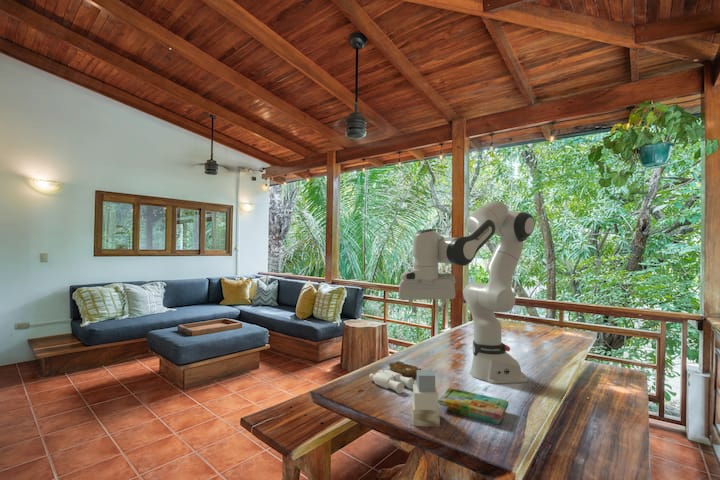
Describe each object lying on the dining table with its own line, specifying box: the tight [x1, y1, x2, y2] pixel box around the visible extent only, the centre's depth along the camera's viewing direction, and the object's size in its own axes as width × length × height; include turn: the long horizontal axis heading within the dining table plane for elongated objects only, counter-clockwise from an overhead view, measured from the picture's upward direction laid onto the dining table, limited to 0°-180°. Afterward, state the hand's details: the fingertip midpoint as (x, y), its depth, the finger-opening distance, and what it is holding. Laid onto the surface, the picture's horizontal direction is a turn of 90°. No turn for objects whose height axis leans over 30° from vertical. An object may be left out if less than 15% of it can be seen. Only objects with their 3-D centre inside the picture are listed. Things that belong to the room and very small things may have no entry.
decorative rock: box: [388, 360, 422, 379], centre depth 150 cm, size 11×4×15 cm
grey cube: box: [416, 369, 436, 392], centre depth 110 cm, size 5×5×5 cm
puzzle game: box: [438, 387, 509, 426], centre depth 116 cm, size 12×5×20 cm
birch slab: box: [410, 397, 441, 428], centre depth 110 cm, size 8×8×5 cm
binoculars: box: [368, 369, 415, 394], centre depth 137 cm, size 10×16×5 cm, turn 44°
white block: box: [412, 383, 439, 411], centre depth 110 cm, size 7×7×5 cm
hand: (427, 311), depth 126 cm, fingers open, 8 cm apart
